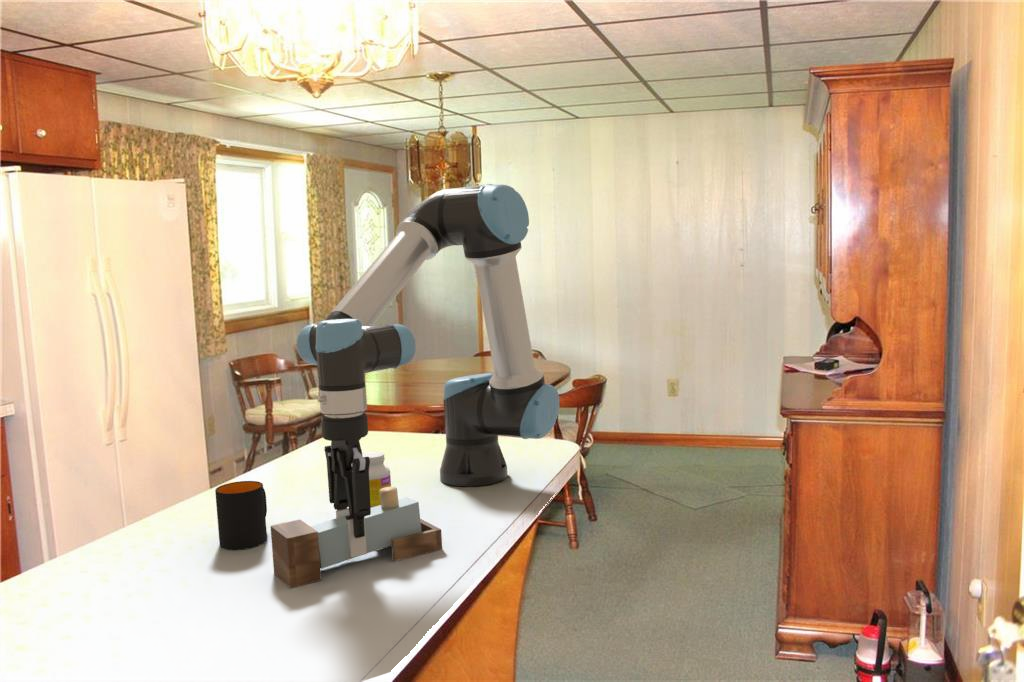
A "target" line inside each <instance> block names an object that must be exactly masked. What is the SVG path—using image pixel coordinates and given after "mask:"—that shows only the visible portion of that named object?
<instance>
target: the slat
mask: <svg viewBox="0 0 1024 682" xmlns="http://www.w3.org/2000/svg"><path fill="white" fill-rule="evenodd" d="M379 491H380V500H381V505H379V506H376V507H372V508H371V514H370V515H367V516H365V533H366V550H367V554H369V553H373V552H375V551H379V550H382V548H383V549H386V548H385V547H387V548H389V547H388V546H391V545H392V543H391V539H395V538H399V537H403V536H407V535H411V534H416V533H420V532H422V531H421V521H420V519H421V513H420V504H419V503H420V502H419V501H417V500H415V499H412V498H410V497H406V496H405V497H403V498H399V495H398V488H397V487H396V486H391V487H385V488H382V489H380V490H379ZM346 516H350V514H349V515H346ZM309 526H310V527H312V528H313V529H315V530H316V531H318V542H319V556H320V570H321V569H325V568H327V567H331V566H334V565H336V564H339V563H343V562H345V561H349V560H352V559H355V558H358V557H360V556H362V555H360V556H356V557H352V558H351V557H350V553H349V537H348V521H347V519H346V517H345V516H343V517H339V518H336V517H335V518H333V519H330V520H326V521H324V522H320V523H316V524H313V525H309ZM391 547H392V546H391Z"/></svg>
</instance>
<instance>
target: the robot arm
mask: <svg viewBox="0 0 1024 682" xmlns="http://www.w3.org/2000/svg"><path fill="white" fill-rule="evenodd" d="M528 211H529V210H528V208H527V205H526V203H525V200H524V198H523V197H522V195H521V193H519V192H518V191H517V190H516V189H515V188H514V187H512V186H510V185H507V184H492V183H488V184H479V185H471V186H462V187H449V188H444V189H441V190H438V191H436V192H434V193H433V194H431V195H430V196H428V197H426V198H425V199H424V200H422V201H421V202H420V203H419V204H417V205H416V206H415V207H414V208H412V210H410V212H409V213H407V215H406V216H405V217H404V218H403V219H402V220H401V221H400V223H399V224H398V225H397V226H396V228H395V235H394V237H393V239H391V241H390V242H389V244H388V245H387V246H385V248H384V249H383V250H382V251H381V253H380V254H379V255H378V256H377V257H376V258H375V260H374V261H373V262H372V264H371V265H370V266H368V268H367V269H366V271H364V273H363V274H362V275H361V277H359V279H358V280H357V281H356V282H355V283H354V284H353V286H351V288H350V289H349V290H348V291H347V293H346V294H345V295H344V296H343V298H342V299H341V300H340V301H339V303H337V305H336V306H335V307H334V308H333V309H332V310H331V312H329V314H328V315H327V316H326V317H325V318H324V320H322V321H319V322H318V323H313V324H308V325H306V326H304V327H302V328H301V330H300V331H299V332H298V336H297V337H296V338H297V339H296V349H297V353H298V356H299V357H300V358H301V360H302V361H303V362H304V363H306V364H309V365H312V366H317V375H318V376H317V377H318V379H317V380H318V391H319V396H317V398H316V400H317V402H318V403H319V405H320V413H321V414H323V415H322V417H321V418H320V425H321V428H320V429H321V437H322V439H324V440H326V441H330V442H331V443H330V445H326V446H325V445H324V448H323V449H324V454H325V458H326V470H327V471H326V472H327V484H328V497H329V503H330V504H333V509H334V510H335V519H336V518H339V517H343V516H345V517H346V519H347V521H348V537H349V553H350V557H351V558H352V557H355V558H357V557H356V556H358V557H360V555H361V556H363V555H367V554H368V553H367V550H366V533H365V516H367V515H370V514H371V507H370V486H369V465H370V459H369V457H363V456H362V454H363V451H362V447H361V444H360V441H361V439H362V438H365V437H367V436H368V434H369V423H368V414H367V413H366V412H365V411H366V410H368V402H367V401H368V399H367V385H366V374H368V373H372V372H378V371H383V370H389V369H397V368H399V367H402V366H405V365H407V364H409V363H410V362H411V361H412V360H413V358H414V356H415V354H416V350H417V349H416V346H417V345H416V339H415V336H414V334H413V332H412V331H411V330H410V328H409V327H407V326H406V325H403V324H399V323H398V324H397V323H396V324H394V323H393V324H392V323H391V324H390V323H387V324H385V325H375V323H376V322H377V321H378V320H379V319H380V317H381V316H382V315H383V313H384V312H385V311H386V309H387V308H389V306H390V305H391V304H392V302H393V301H394V300H395V299H396V297H398V295H399V294H400V292H401V291H402V290H403V288H404V287H405V286H406V285H407V283H408V282H409V281H410V280H411V278H412V277H413V276H414V275H415V273H416V272H417V271H418V270H419V269H420V267H421V266H422V265H423V264H424V263H425V261H428V260H432V259H433V258H434V257H435V256H436V255H437V254H438V253H439V252H440V251H441V250H444V249H445V248H448V247H452V246H462V248H463V253H464V254H463V255H464V258H465V259H466V260H467V261H469V262H470V263H472V264H473V267H474V270H475V276H476V277H475V278H476V281H477V287H478V292H479V297H480V302H481V307H482V308H481V309H482V313H483V319H484V323H485V329H486V334H487V341H488V345H489V349H490V356H491V361H492V365H493V371H494V373H493V372H490V373H488V372H486V373H477V374H471V375H465V376H459V377H455V378H452V379H449V380H447V381H446V382H445V383H444V386H443V411H444V426H445V441H446V443H445V444H446V446H445V449H444V454H443V457H442V461H441V466H440V468H439V480H440V482H442V483H444V484H446V485H449V486H456V487H479V486H481V487H482V486H487V485H488V486H489V485H494V484H496V483H499V482H501V481H504V480H506V479H507V478H508V465H507V463H506V460H505V457H504V454H503V452H502V449H501V446H500V444H499V436H500V437H510V438H519V439H520V438H521V439H524V440H529V439H535V440H537V439H539V440H540V439H542V438H545V437H547V435H548V434H549V433H551V431H552V430H553V428H554V427H555V424H556V421H557V418H558V416H559V412H560V396H559V395H560V394H559V392H558V390H557V388H556V387H555V386H553V385H551V384H549V383H546V382H545V375H544V372H543V370H542V369H540V368H539V367H538V366H536V365H535V361H534V354H533V349H532V343H531V336H530V331H529V326H528V321H527V319H528V318H527V314H526V309H525V303H524V298H523V297H524V296H523V290H522V286H521V281H520V279H521V278H520V274H519V269H518V262H517V258H516V257H517V255H518V254H519V253H520V251H521V250H522V241H523V240H525V238H526V236H527V235H528V232H529V229H528V227H529V226H530V217H529V212H528ZM349 514H350V516H346V515H349ZM352 559H353V558H352Z"/></svg>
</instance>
